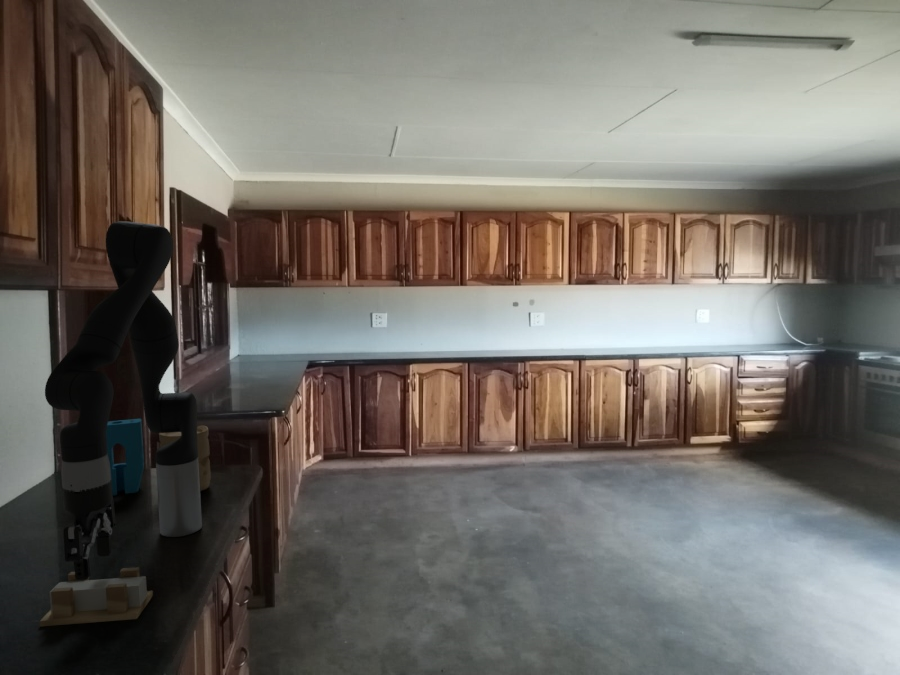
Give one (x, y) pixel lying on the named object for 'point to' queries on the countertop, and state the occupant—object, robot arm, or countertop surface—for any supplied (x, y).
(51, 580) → the countertop surface
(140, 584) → the clay bar
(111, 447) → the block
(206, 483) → the container
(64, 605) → the rack
